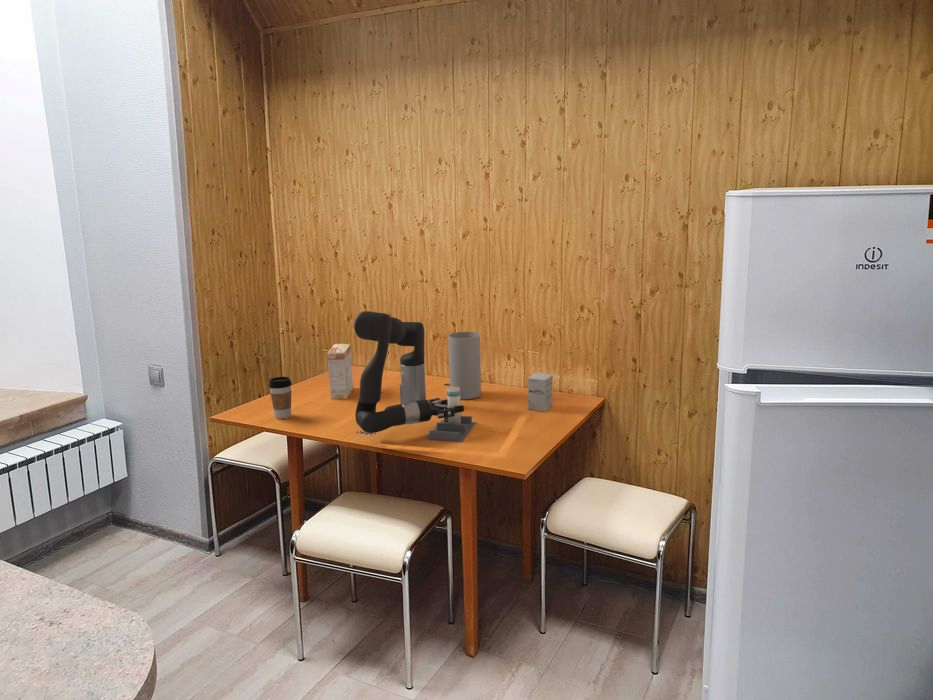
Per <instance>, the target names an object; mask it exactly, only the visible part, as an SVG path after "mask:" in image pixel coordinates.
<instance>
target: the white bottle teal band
mask: <svg viewBox="0 0 933 700" xmlns="http://www.w3.org/2000/svg"><path fill="white" fill-rule="evenodd" d="M446 396H447V398H446V399H448V407H454V406H460V405H461V399H460V387H457V386H451V387H450V386H448V387H447V389H446ZM449 412H451V411H449ZM448 415H449V414H448ZM461 415H462V412H459V413H455V416H452V417H448V423H456V424H461Z"/></svg>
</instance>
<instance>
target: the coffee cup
mask: <svg viewBox="0 0 933 700" xmlns="http://www.w3.org/2000/svg"><path fill="white" fill-rule="evenodd" d="M268 387H269V390H270V398H271V403H272V409H273V414H274V418H275V417H276V418H286V419H289V418H291V417H292V389H291V388H292V381H291V378H290V377H288V376H276V377H273V378H270V379H268ZM290 416H291V417H290ZM288 417H289V418H288ZM276 418H275V419H276Z"/></svg>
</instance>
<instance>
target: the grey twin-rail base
mask: <svg viewBox="0 0 933 700" xmlns="http://www.w3.org/2000/svg"><path fill="white" fill-rule="evenodd" d="M477 423H478V422H477V421H473V416H472V415H462V414H461V424H456V423H448V417H446V418H443V419H441V420H440V421H438V422H436V426H435V427H434V428H433V429H431V430H429V432H428V435H427V436H426V437H425V438H424V439H423V440H424V441H433V442H434V441H435V442H436V441H437V442H449V443H463V442H464V441H465V439H466V438H467V436H468V435H469V434H470V433H471V431H472V429H473V428H474V427H475V426H476V424H477Z"/></svg>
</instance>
